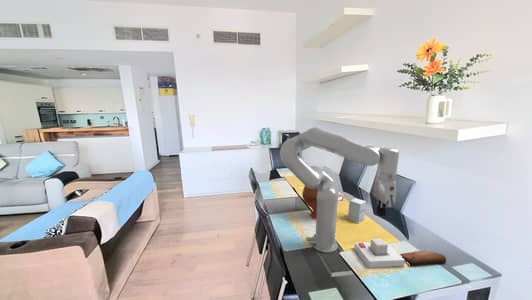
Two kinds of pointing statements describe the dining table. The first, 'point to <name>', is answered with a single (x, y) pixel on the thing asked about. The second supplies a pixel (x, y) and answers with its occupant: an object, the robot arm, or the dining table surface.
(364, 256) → the socket plate
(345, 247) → the dining table surface
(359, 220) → the supplement box
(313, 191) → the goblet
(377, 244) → the plug
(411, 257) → the sunglasses case
